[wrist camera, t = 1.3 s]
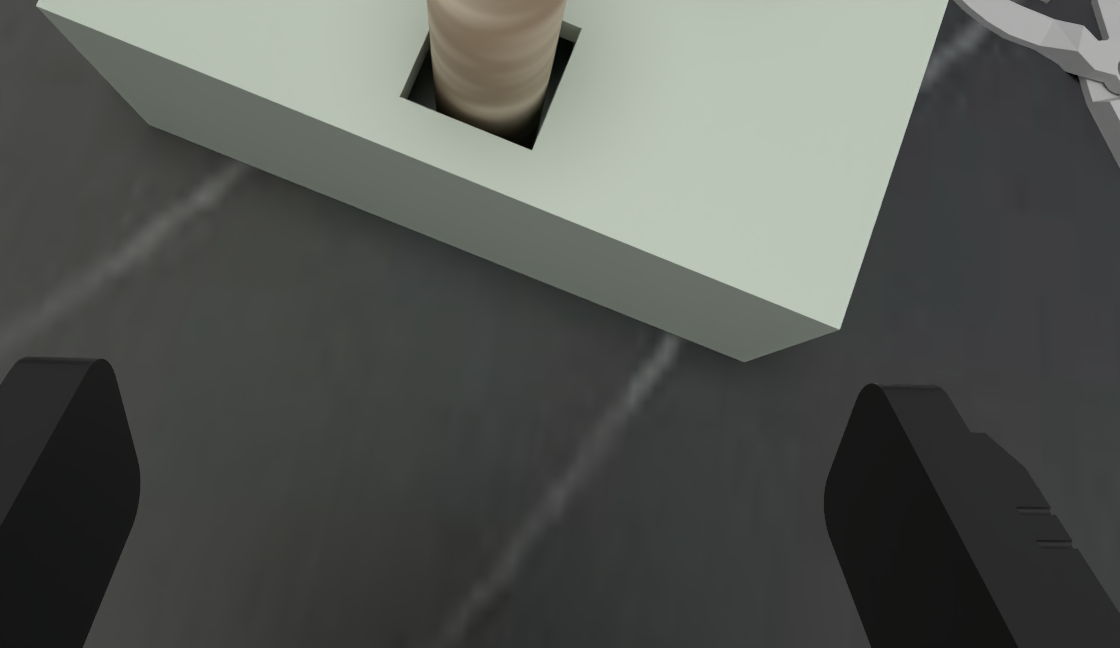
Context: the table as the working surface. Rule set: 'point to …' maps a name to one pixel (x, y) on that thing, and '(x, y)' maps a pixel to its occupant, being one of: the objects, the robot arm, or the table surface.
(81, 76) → the table surface
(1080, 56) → the pliers
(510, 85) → the beige long cylinder
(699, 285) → the toolbox
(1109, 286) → the table surface
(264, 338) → the table surface
